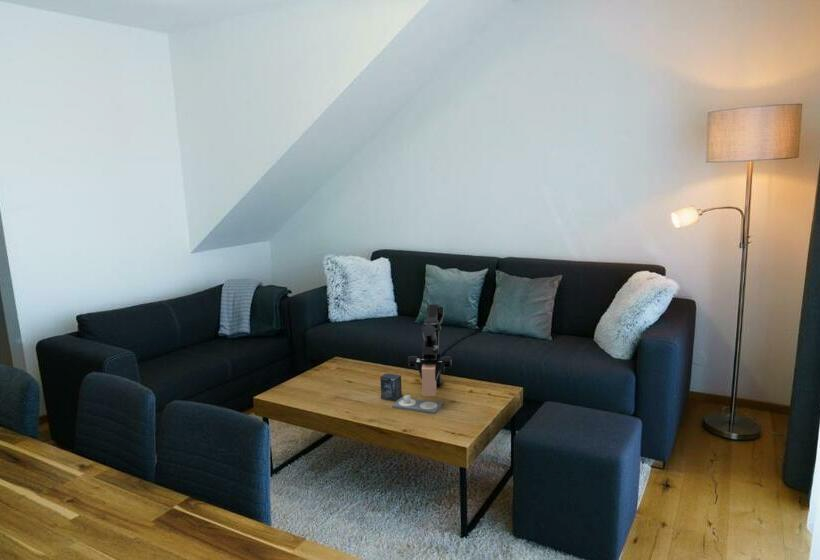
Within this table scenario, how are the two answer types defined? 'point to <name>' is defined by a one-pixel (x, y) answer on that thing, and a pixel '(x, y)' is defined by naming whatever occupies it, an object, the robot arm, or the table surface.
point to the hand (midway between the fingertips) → (428, 379)
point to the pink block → (428, 380)
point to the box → (391, 387)
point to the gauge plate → (417, 405)
